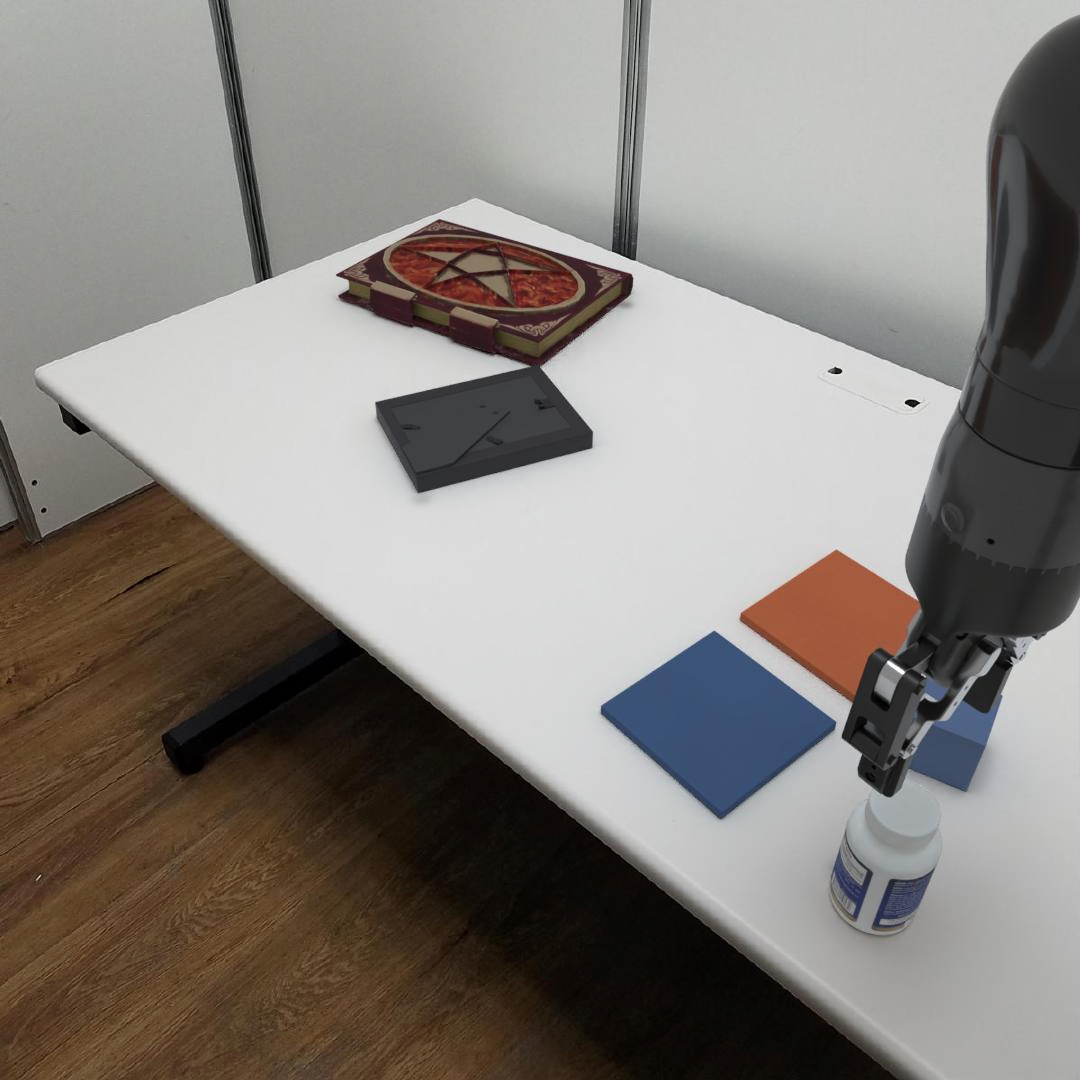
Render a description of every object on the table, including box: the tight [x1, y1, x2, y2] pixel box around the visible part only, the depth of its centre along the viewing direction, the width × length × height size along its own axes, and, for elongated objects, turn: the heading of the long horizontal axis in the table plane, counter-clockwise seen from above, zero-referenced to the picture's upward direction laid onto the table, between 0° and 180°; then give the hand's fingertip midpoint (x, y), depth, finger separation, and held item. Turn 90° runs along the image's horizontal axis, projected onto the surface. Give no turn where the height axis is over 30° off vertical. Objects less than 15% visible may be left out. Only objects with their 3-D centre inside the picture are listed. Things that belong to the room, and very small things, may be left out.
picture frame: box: [374, 365, 594, 493], centre depth 104 cm, size 13×2×18 cm
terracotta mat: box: [739, 549, 921, 703], centre depth 84 cm, size 12×12×1 cm
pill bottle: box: [828, 778, 943, 936], centre depth 63 cm, size 5×5×10 cm
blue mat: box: [600, 630, 838, 820], centre depth 77 cm, size 12×12×1 cm
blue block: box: [909, 676, 1003, 792], centre depth 74 cm, size 5×5×5 cm
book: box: [335, 218, 634, 366], centre depth 125 cm, size 28×21×5 cm
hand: (927, 741), depth 57 cm, fingers open, 8 cm apart
